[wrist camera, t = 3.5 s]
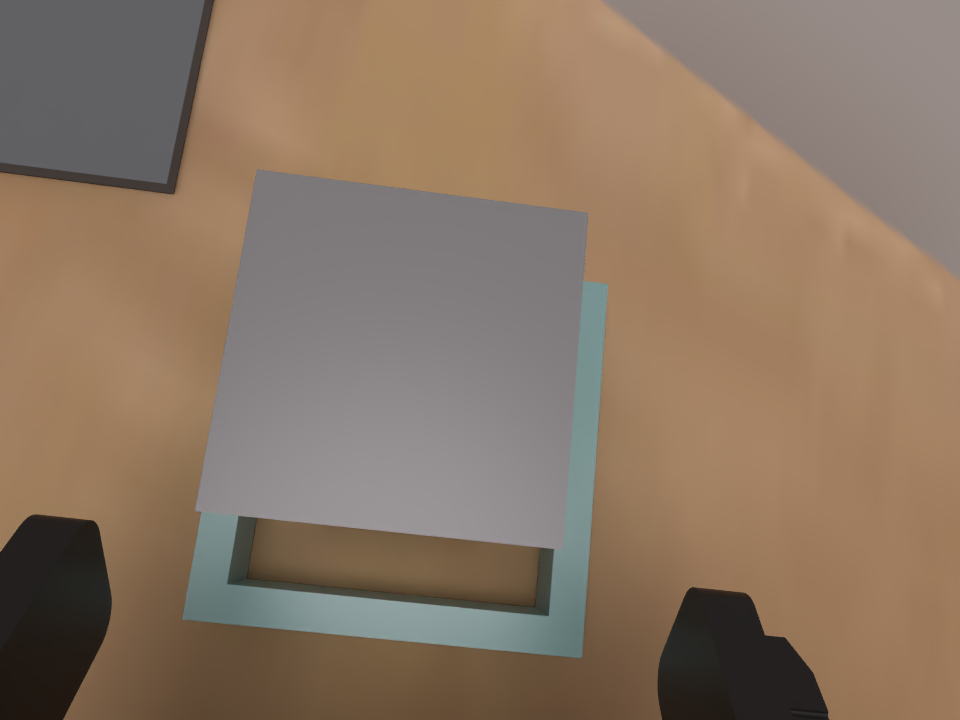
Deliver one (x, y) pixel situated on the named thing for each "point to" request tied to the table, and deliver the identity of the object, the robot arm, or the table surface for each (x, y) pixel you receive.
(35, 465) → the table surface
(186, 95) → the plate
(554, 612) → the collar
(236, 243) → the table surface
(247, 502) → the plug
